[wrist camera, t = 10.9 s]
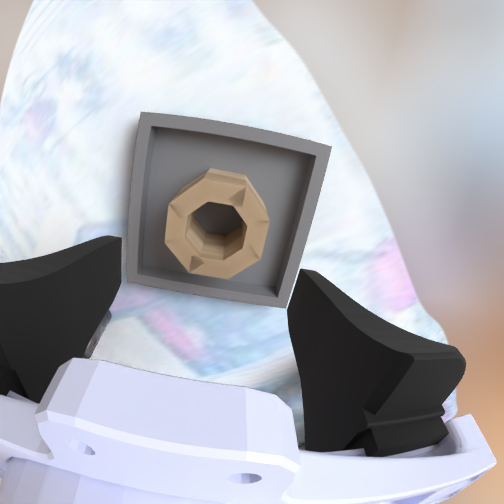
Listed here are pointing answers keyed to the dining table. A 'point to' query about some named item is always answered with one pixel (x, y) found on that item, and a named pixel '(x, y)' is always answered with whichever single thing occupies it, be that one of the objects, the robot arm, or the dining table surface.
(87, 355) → the stake
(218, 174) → the ring
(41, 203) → the dining table surface
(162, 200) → the tray
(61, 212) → the dining table surface
